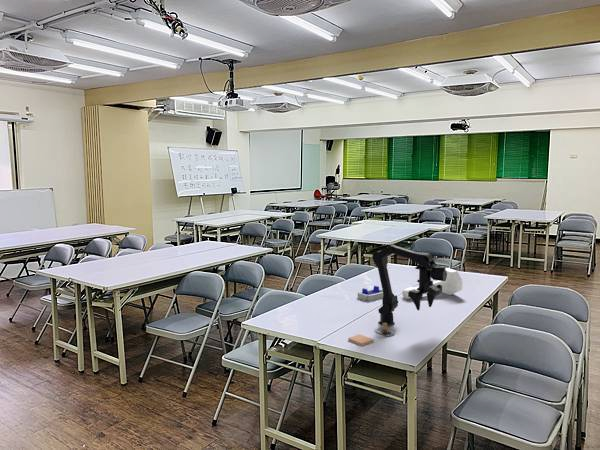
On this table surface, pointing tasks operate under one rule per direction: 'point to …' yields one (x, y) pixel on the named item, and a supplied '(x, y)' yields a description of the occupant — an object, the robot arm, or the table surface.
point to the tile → (360, 340)
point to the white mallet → (443, 284)
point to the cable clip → (375, 290)
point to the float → (384, 331)
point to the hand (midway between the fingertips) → (424, 308)
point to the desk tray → (370, 297)
